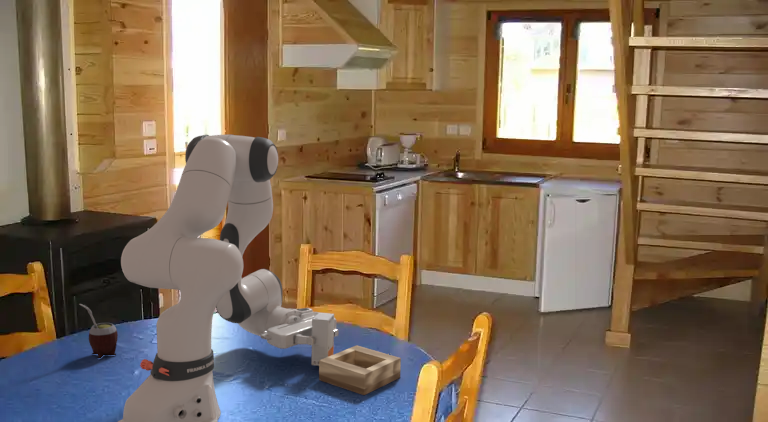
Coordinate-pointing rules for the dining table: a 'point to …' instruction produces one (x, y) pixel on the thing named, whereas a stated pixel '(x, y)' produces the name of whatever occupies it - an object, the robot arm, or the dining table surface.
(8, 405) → the dining table surface
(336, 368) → the socket block
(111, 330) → the mate gourd
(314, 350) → the skincare box
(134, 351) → the dining table surface
